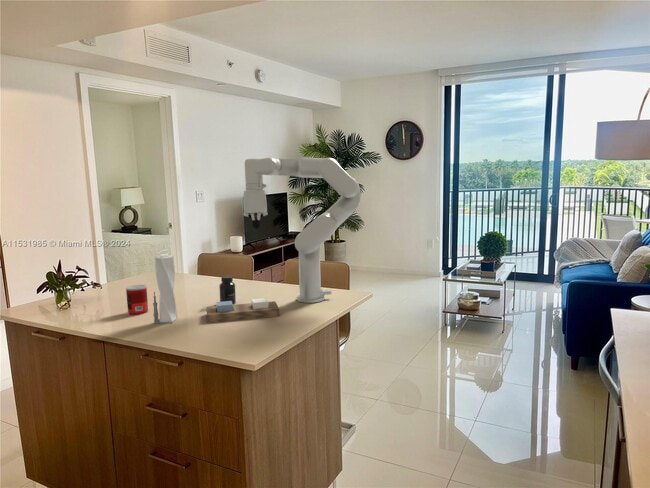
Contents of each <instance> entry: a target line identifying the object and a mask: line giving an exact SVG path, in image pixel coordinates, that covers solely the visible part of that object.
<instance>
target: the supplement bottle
mask: <svg viewBox="0 0 650 488" xmlns="http://www.w3.org/2000/svg"><path fill="white" fill-rule="evenodd" d="M233 280H234V279H233V276H232V275H224V276H221V281H220V283H219V285H218V286H219V288H218V289H219V302H224V301H232V304H233V305H236V298H237V297H236V284H235V282H233Z"/></svg>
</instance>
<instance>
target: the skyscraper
mask: <svg viewBox="0 0 650 488" xmlns="http://www.w3.org/2000/svg"><path fill="white" fill-rule="evenodd" d="M166 251H167V253H165V254H164V253H163V254H160V253H162V252H166ZM169 252H170V249H162V250H159V251H158V252H156V254H155V256H154V270H155V278H156V285H157V289H158V291H159V292H158V293H159V310H158V302H157V297H156V292H155V291H153V303H152V305H153V314H152V315H153V325H169V324H170V325H171V324H173V323H174V322H175V321H176V320H177V319H178V312H177V311H178V310H177V304H176V298H175V297H176V296H175V292H174V287H175V278H176V277H175V276H176V271H175V270H176V266H175V255H173V254H169ZM159 254H160V255H159ZM158 255H159V256H158ZM158 311H159V312H158Z"/></svg>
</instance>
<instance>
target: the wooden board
mask: <svg viewBox="0 0 650 488" xmlns="http://www.w3.org/2000/svg"><path fill="white" fill-rule="evenodd" d="M280 315H281V314H280V307H279V305H278V304H277V301H268V308H262V309H253V308H252V302H249V303H239V304H238V303H237V304H233V311H227V312H217V305H215V306H207V307H206V324H207V323H217V322H218V323H220V322H229V321H241V320H242V321H243V320H252V319H261V318H262V319H263V318H264V319H265V318H271V317H272V318H273V317H280Z"/></svg>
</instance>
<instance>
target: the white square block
mask: <svg viewBox="0 0 650 488" xmlns="http://www.w3.org/2000/svg"><path fill="white" fill-rule="evenodd" d="M268 302H269V301H268V298H266V297H263V298H262V297H261V298H251V303H252V308H253V309H262V308H268Z"/></svg>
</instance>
